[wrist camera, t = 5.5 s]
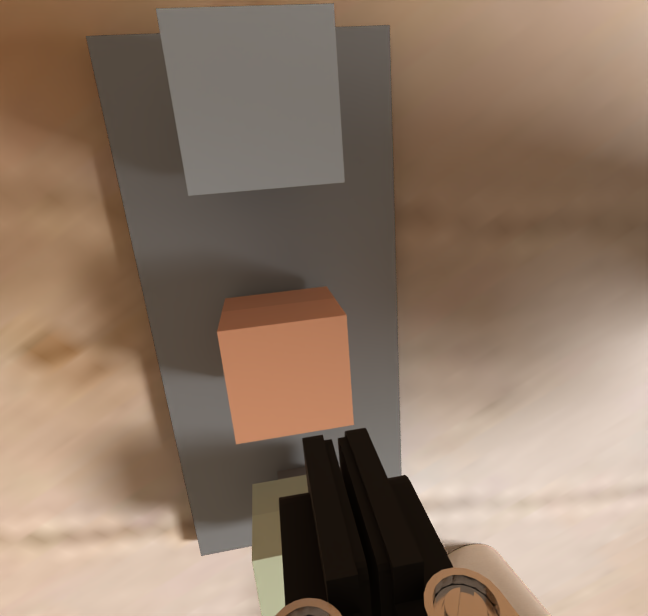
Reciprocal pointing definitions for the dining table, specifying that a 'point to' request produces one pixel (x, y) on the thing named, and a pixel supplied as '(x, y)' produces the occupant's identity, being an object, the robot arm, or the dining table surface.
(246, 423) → the button terracotta
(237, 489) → the button board
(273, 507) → the button sage
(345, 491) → the robot arm
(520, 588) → the dixie cup
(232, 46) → the button slate
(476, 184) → the dining table surface
